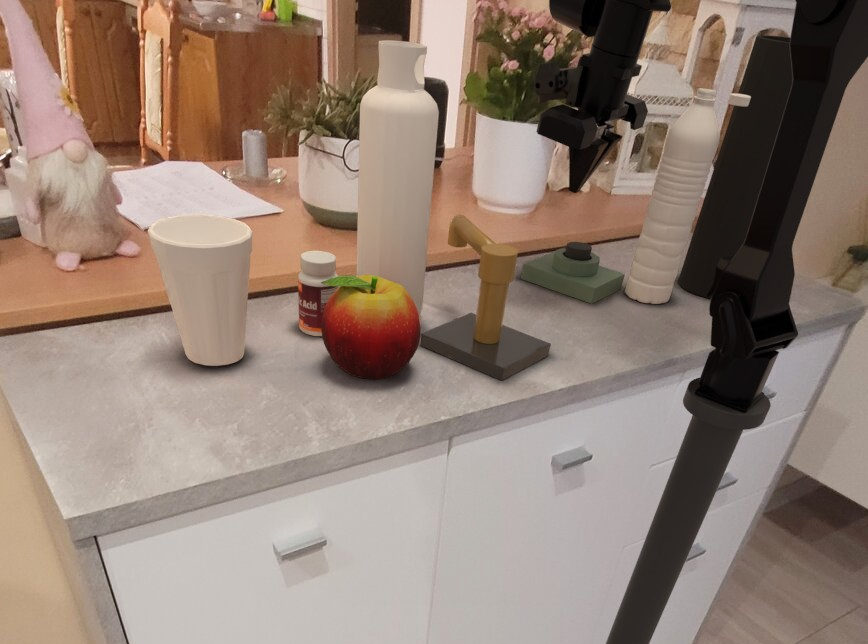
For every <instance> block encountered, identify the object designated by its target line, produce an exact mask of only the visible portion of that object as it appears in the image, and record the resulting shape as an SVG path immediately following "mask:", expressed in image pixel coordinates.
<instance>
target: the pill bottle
mask: <svg viewBox="0 0 868 644" xmlns="http://www.w3.org/2000/svg"><path fill="white" fill-rule="evenodd" d="M299 262H300V266H299V267H300V270H301V271H300V272H299V273H298V275H297V296H298V297H297V299H298V300H297V301H298V304H297V305H298V327H299V329H300V330H301V331H302V332H303V333H304V334H306V335H309V336H313V337H322V330H321V328H322V318H323V313H324V309H325V306H326V304H327V302H328V300H329V299H330V297H331V296H332V295H333V294H334V292H335V291H336V290H337V289H338V288H339V287H340V286H337V287H333V286H327V285H324V284H322V283H320V282H323V281H326V280H328V279H331V278H334V277H339V274H338V273H337V272H336V271H337V257H336V255H334V254H333V253H331V252H329V251H324V250H307V251H304V252H302V253H301V254H300V261H299Z"/></svg>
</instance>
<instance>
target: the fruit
mask: <svg viewBox="0 0 868 644" xmlns="http://www.w3.org/2000/svg"><path fill="white" fill-rule="evenodd" d="M320 283H322V284H324V285H327V286H333V287H337V286H339V288H338V289H337V290H336V291H335V292H334V294H333V295H332V296H331V297H330V299H329V300H328V302H327V304H326V306H325V309H324V313H323V318H322V328H321V330H322V336H321V338H322V342H323V345H324V347H325V349H326V351H327V353H328V355H329V356H330V357H331V359H332V361H333V362H334V363H335V364H336V366H338V367H339V369H342V370H343V371H344V372H346V373H348V374H349V375H351V376H354V377H356V378H361V379H369V380H378V379H385V378H388V377H391V376H393V375H395V374H397V373H398V372H400V371H401V370H403V369H404V368H406V366H408V364H409V363H410V361H411V360H412V358H413V357H414V356H415V353H416V352H417V350H418V347H419V345H420V342H421V330H420V320H419V314H418V311H417V308H416V306H415V303H414V301H413V300H412V298H411V296H410V295H409V293H408V292H407V291H406V290H405V289H404V287H403V286H401V285H400V284H397V283H395V282H392V281H389V280H387V279H384V278H381V277H379V276H374V275H360V276H357V277H356V276H355V275H349V274H348V275H347V274H346V275H340V276H339V275H338V277H334V278H331V279H328V280H326V281H323V282H320Z"/></svg>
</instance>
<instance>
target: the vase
mask: <svg viewBox="0 0 868 644" xmlns="http://www.w3.org/2000/svg"><path fill="white" fill-rule="evenodd" d="M790 37H791V36H790ZM790 37H789V36H779V35H767V34H758V35H756V37H755V40H754V43H753V46H752V49H751V52H750V55H749V57H748V60H747V61H748V62H747V65H746V68H745V71H744V73H743V77H742V80H741V83H740V86H739V89H738V92H737V94H744V95H748V96H751V99H750V102H749V105H748V106H736V105H733V108H732V111H731V115H730V118H729V121H728V124H727V126H726V129H725V134H724V136H723V139H722V142H721V146H720V149H719V152H718V155H717V158H716V162H715V164H714V166H713V167H714V168H713V170H712V173H711V177H710V180H709V183H708V186H707V189H706V193H705V194H704V195H705V196H704V199H703V201H702V205H701V207H700V211H699V214H698V217H697V220H696V223H695V225H694V226H695V227H694V230H693V232H692V236H691V239H690V242H689V245H688V248H687V252H686V255H685V258H684V261H683V264H682V267H681V270H680V273H679V276H678V279H677V282H678V284H679V287H680V288H682V289H684V290H685V291H687V292H689V293H691V294H693V295H696V296H699V297H702V298H705V299H709V300H711V298H712V296H710V297H707V294H708V292H709V291H710V289H711V287H712V285H713V282H714V278H715V271H716V266H717V263H718V261H719V259H720V258H723V257H728V256H734V255H736V253H737V252H738V251H739V249H740V248H741V247H742V245H743V243H744V241H745V239H746V236H747V232H748V229H749V226H750V222H751V219H752V216H753V213H754V209H755V206H756V203H757V199H758V196H759V193H760V189H761V186H762V183H763V179H764V176H765V173H766V169H767V166H768V163H769V159H770V156H771V153H772V150H773V146H774V143H775V140H776V136H777V133H778V130H779V126H780V123H781V120H782V116H783V113H784V110H785V106H786V103H787V100H788V96H789V93H790V90H791V86H792V81H793V76H792V66H791V56H790Z"/></svg>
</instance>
